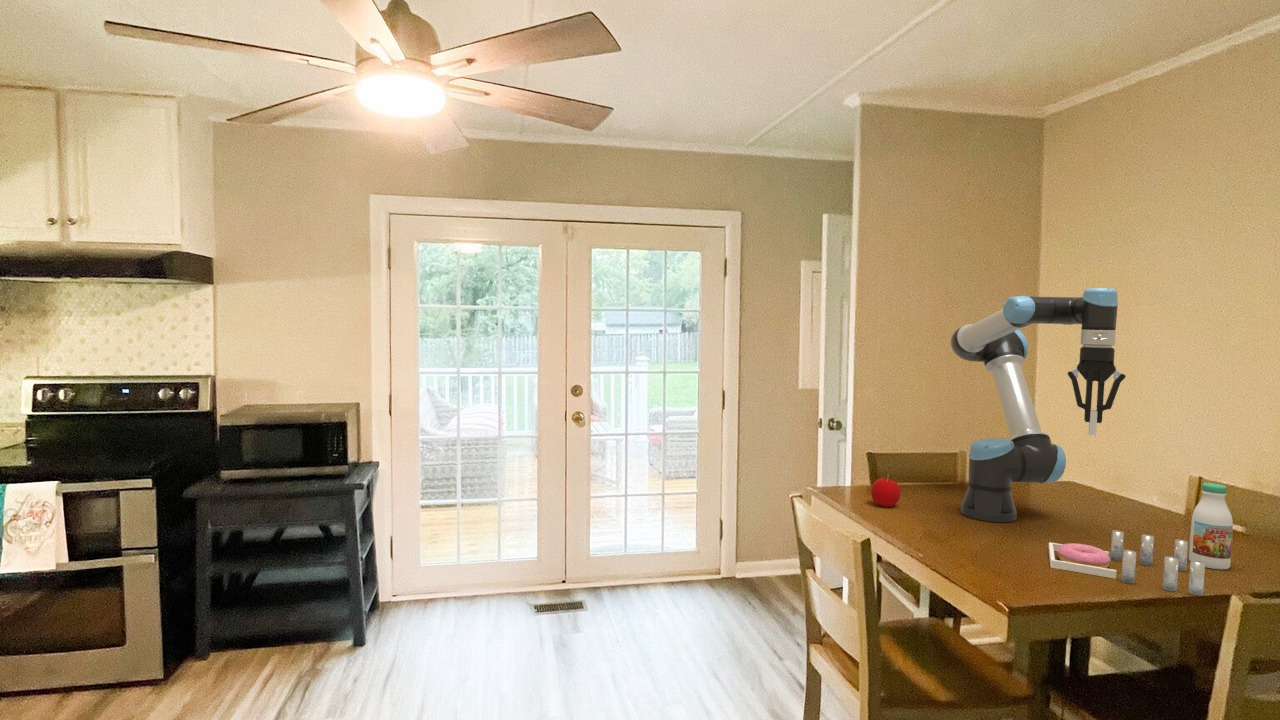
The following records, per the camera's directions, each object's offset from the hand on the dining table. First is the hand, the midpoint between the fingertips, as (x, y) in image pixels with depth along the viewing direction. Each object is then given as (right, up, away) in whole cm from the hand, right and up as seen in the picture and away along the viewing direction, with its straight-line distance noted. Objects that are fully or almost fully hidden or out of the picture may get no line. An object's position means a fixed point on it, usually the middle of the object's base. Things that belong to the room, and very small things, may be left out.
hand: (1092, 434), depth 175 cm
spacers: (0, -31, -22) cm, 37 cm away
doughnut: (-12, -30, -15) cm, 36 cm away
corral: (-12, -30, -15) cm, 36 cm away
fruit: (-42, -27, +35) cm, 61 cm away
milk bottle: (+19, -31, -14) cm, 39 cm away
